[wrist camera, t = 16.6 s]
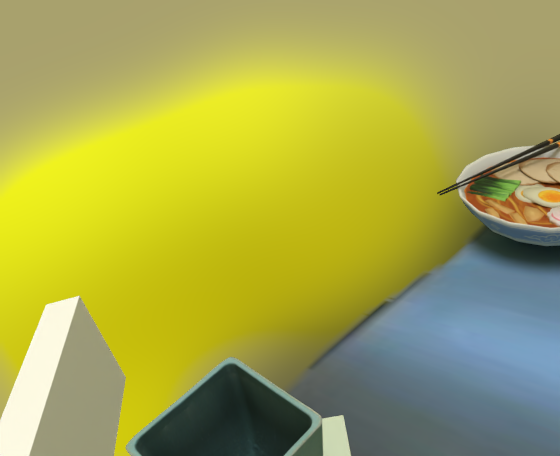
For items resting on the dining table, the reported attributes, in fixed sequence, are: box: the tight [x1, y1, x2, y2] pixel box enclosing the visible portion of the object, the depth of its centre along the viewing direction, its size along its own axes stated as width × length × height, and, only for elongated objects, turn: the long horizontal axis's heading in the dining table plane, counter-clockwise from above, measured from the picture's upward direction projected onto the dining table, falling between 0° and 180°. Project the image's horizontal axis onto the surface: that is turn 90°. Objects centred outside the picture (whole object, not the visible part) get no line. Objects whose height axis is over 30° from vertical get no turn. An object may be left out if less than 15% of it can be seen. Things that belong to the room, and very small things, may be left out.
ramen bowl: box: [437, 134, 560, 246], centre depth 67 cm, size 25×23×8 cm
